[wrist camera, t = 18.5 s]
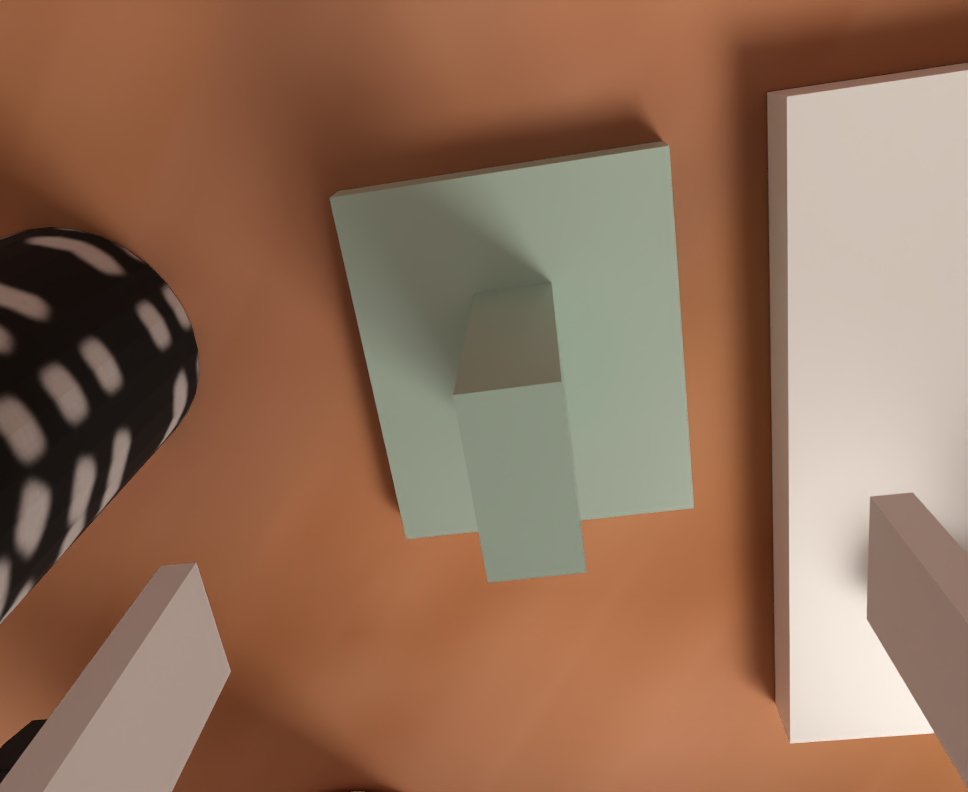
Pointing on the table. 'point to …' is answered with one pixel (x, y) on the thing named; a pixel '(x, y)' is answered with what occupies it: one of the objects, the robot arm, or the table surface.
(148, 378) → the white-spotted black cylinder
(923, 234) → the lock base
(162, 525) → the table surface
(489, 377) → the cover
